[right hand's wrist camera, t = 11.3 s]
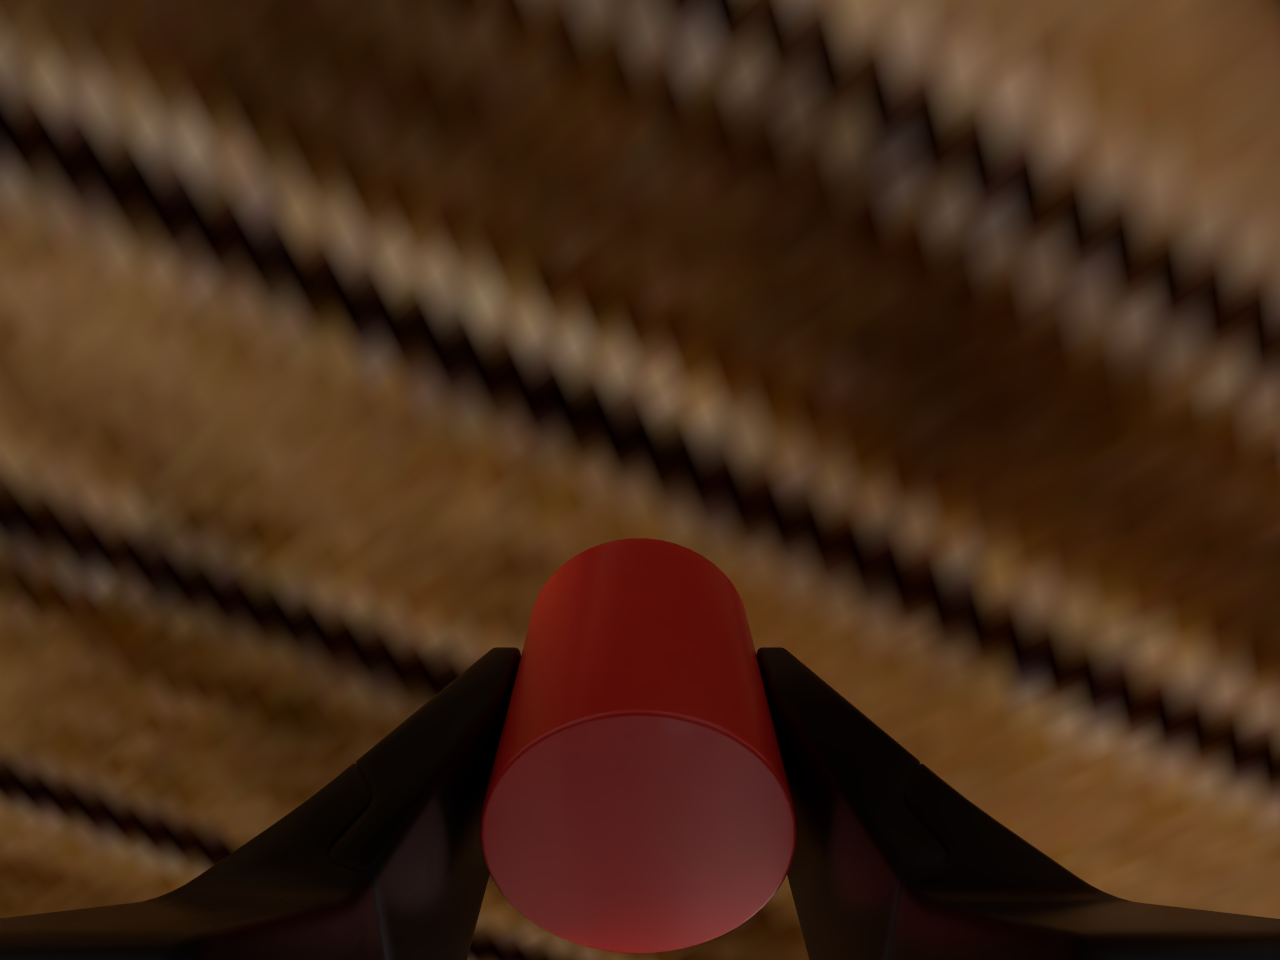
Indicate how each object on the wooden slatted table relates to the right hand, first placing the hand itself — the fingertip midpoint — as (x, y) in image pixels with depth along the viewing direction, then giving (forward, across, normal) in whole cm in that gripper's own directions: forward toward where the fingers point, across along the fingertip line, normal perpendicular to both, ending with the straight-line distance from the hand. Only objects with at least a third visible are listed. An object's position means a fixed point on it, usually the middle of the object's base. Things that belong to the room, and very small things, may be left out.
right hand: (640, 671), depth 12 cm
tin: (+1, 0, 0) cm, 1 cm away
